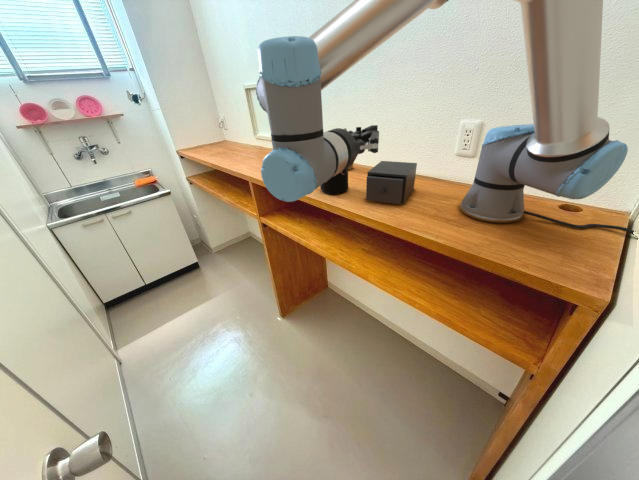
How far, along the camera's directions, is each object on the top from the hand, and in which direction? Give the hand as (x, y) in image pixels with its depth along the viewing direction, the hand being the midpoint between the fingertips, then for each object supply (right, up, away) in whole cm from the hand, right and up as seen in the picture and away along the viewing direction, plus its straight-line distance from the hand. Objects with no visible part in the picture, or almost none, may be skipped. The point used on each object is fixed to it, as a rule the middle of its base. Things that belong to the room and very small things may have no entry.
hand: (374, 131), depth 63 cm
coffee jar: (-8, -8, +35) cm, 37 cm away
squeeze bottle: (-1, +7, +59) cm, 59 cm away
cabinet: (+12, -11, +27) cm, 32 cm away
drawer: (+10, -12, +24) cm, 29 cm away
